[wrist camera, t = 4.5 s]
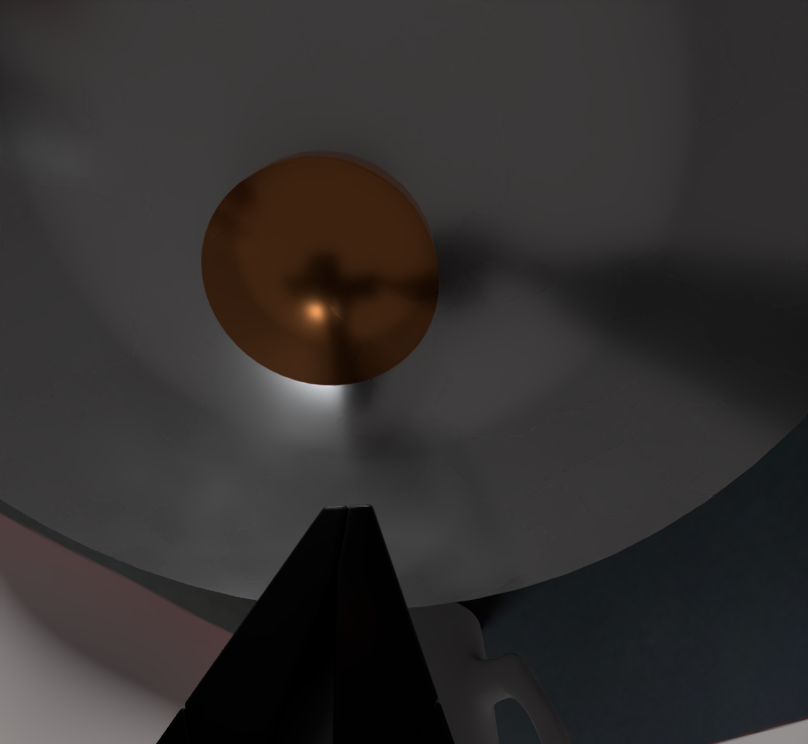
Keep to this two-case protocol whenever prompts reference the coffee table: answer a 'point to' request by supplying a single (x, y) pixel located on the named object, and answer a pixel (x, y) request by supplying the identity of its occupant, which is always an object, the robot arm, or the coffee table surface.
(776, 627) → the coffee table surface
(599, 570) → the coffee table surface
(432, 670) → the mug
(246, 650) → the robot arm
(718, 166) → the lid
